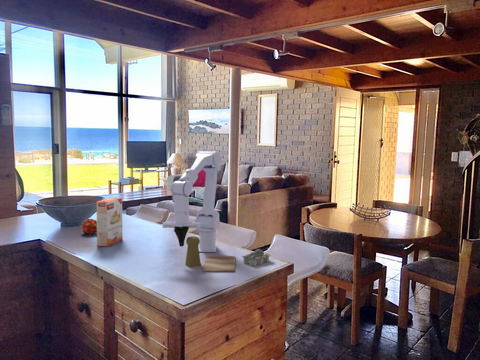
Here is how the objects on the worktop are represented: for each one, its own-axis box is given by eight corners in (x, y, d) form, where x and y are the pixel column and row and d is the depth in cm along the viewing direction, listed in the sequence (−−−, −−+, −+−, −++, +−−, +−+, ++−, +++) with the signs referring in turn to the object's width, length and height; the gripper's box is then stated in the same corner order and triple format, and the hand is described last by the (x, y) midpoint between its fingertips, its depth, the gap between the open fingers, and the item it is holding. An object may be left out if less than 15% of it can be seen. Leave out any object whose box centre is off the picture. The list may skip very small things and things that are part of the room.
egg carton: (260, 257, 163) (260, 248, 163) (272, 262, 157) (272, 252, 157) (240, 262, 157) (240, 252, 156) (251, 267, 151) (251, 256, 150)
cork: (201, 261, 156) (201, 234, 155) (200, 266, 150) (200, 238, 149) (186, 261, 156) (185, 235, 155) (184, 266, 150) (184, 238, 149)
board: (206, 257, 162) (206, 255, 162) (235, 257, 162) (235, 256, 162) (202, 271, 144) (202, 270, 144) (234, 272, 144) (234, 270, 144)
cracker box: (108, 247, 176) (107, 201, 174) (96, 246, 178) (95, 201, 175) (123, 239, 190) (122, 197, 188) (112, 238, 191) (111, 197, 189)
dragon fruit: (87, 234, 207) (97, 241, 199) (74, 227, 201) (84, 234, 193) (96, 220, 209) (107, 227, 201) (84, 213, 203) (94, 220, 195)
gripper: (160, 213, 147) (161, 248, 148) (198, 213, 147) (199, 248, 148) (164, 210, 154) (164, 243, 155) (200, 210, 154) (201, 243, 155)
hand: (181, 245), depth 152 cm, fingers closed
